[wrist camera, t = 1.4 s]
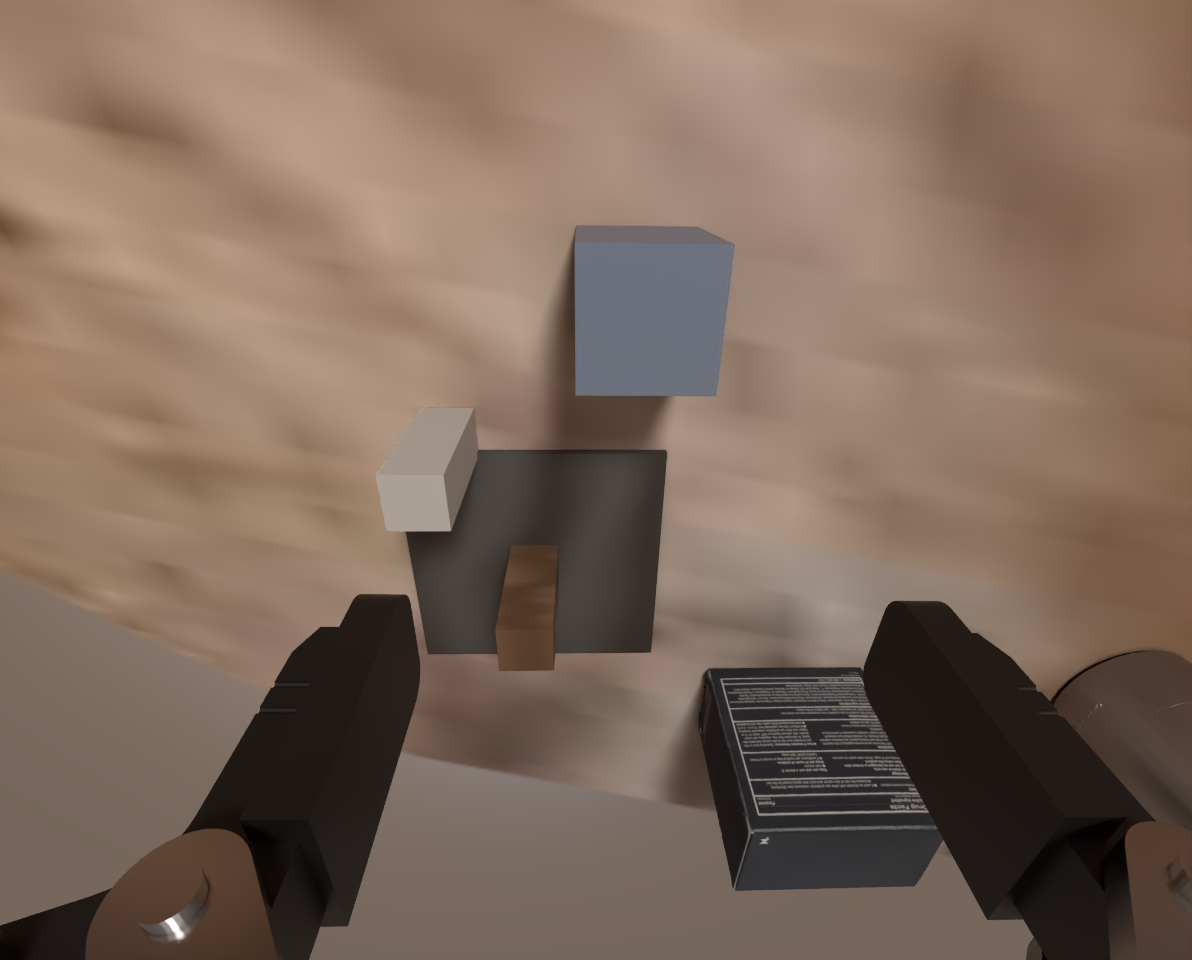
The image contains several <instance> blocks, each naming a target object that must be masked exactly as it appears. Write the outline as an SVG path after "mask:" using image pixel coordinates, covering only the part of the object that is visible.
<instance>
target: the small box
mask: <svg viewBox="0 0 1192 960" xmlns="http://www.w3.org/2000/svg"><path fill="white" fill-rule="evenodd" d="M705 681H706V684H705V686H704V688H705V690H704V695H703V702H702V708H701V712H700V713H699V727H698V728H699V733H700V736H701V741H702V745H703V750H704V755H705V759H706V764H707V768H708V773H709V778H710V782H711V787H712V791H713V796H714V801H715V805H716V810H717V815H718V819H719V825H720V828H721V832H722V838H723V843H724V848H725V852H726V856H727V861H728V865H729V870H730V875H731V880H732V886H733V889H734V890H736V891H744V890H780V889H781V890H782V889H821V888H859V887H896V886H897V887H902V886H915V885H916V884H917V882H918V881H919V879H920V878H921V876H922V875H923V873H924V871H925V870H926V868H927V867H928V864H929V863H930V861H931V859H932V858H933V856H934V854H935V853H936V851H937V849H938V848H939V846H940V844H941V843H942V841H943V840H944V839H943V838H942V836H941V834H940V832H939V830H938V828H937V826H936V825H935V823H934V821H933V819H932V817H931V815H930V814H929V812H928V810H927V808H926V806H925V804H924V803H923V801H922V799H921V797H920V795H919V793H918V792H917V790H916V788H915V786H914V784H913V782H912V781H911V779H910V777H909V775H908V773H907V771H906V769H905V768H904V766H903V764H902V762H901V760H900V758H899V757H898V755H897V753H896V751H895V749H894V747H893V746H892V744H891V742H890V740H889V738H888V736H887V735H886V733H885V731H884V729H883V727H882V725H881V724H880V722H879V720H878V718H877V716H876V714H875V713H874V711H873V709H872V707H871V705H870V703H869V701H868V698H867V696H866V692H865V688H864V681H863V670H862V669H861V668H739V669H736V668H735V669H709V670H708V671H707V673H706V677H705Z"/></svg>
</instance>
